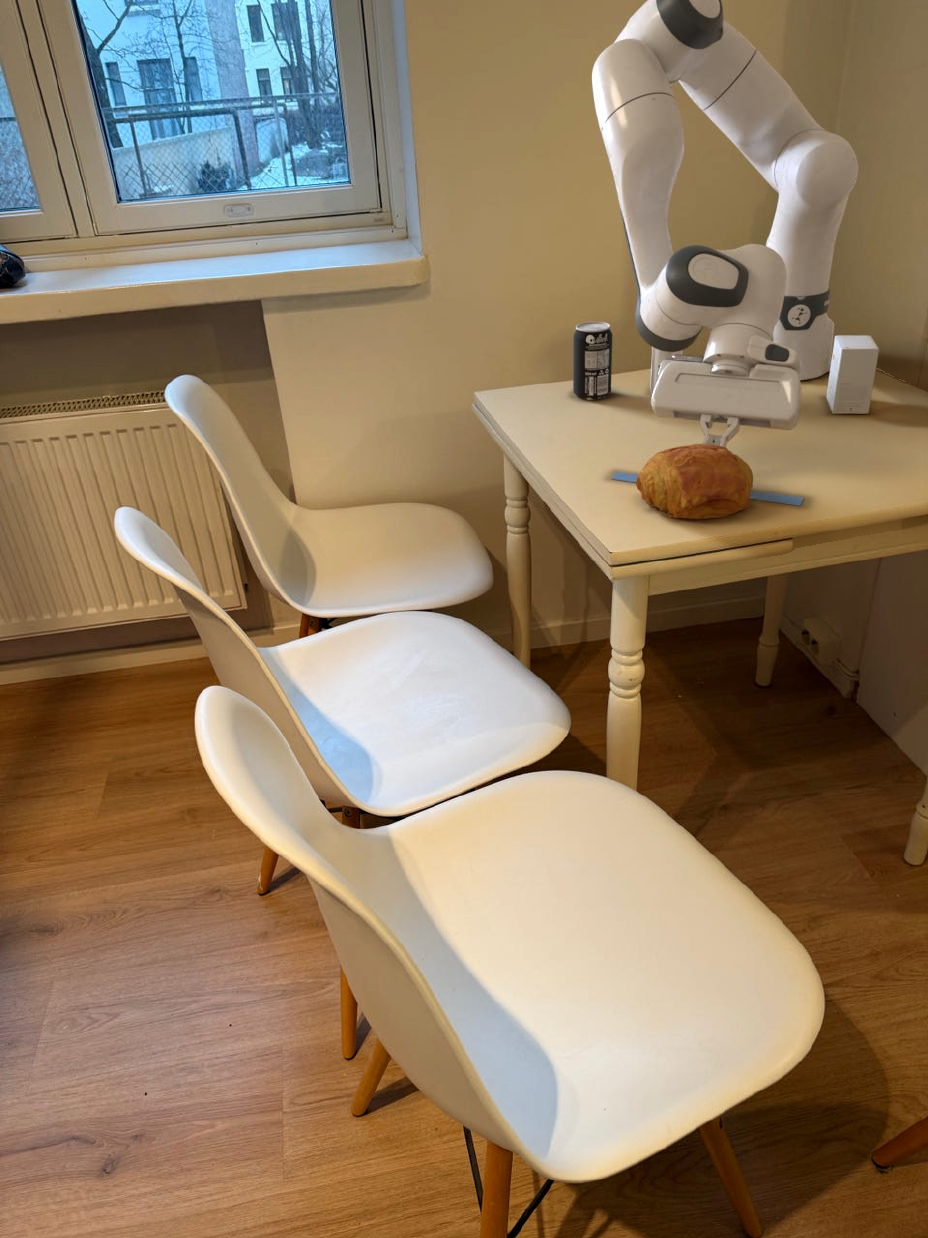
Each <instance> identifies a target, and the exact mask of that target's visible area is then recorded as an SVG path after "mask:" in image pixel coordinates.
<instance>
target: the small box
mask: <svg viewBox="0 0 928 1238" xmlns="http://www.w3.org/2000/svg"><path fill="white" fill-rule="evenodd" d="M879 353H880V348H879V347H878V345H877V343H876V342H875V340H874V338H873V337H872V335H867V334H866V335H865V334H863V335H851V334H849V335H846V334H845V335H834V339H833V346H832V354H831V358H832V361H831V368H830V371H829V375H828V381H827V382H828V383H827V389H826V396H825V398H826V400H827V403H828V405H829V408H830V410H831V413H832V414H834V415H835V414H846V415H847V414H855V415H856V414H857V415H859V414H861V415H864V414H865V415H867V414H869V413H870V406H871V401H872V396H873V395H872V394H873V389H874V382H875V377H876V371H877V364H878V360H879V359H878V358H879Z"/></svg>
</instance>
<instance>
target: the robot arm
mask: <svg viewBox="0 0 928 1238" xmlns="http://www.w3.org/2000/svg"><path fill="white" fill-rule="evenodd" d="M677 83H679V84H680V85H681V87H682V88H683V90H684V92H686V94H687V95H688V96H689V97H690V99H691V100H692V101H693V102H694V104H695V105H696V106H697V107H698V108H699V109H700V110H701V111H702V112H703V113H704V114H705V115H706V116H707V117H708V118H709V120H710V121H711V122H712V123H713V124H714V125H715V126H716V127H717V128H718V129H719V130H720V131H721V132H722V133H723V134H724V135H725V136H726V137H727V139H728V140H729V141H731V143H732V144H733V145H734V146H735V147H736V148H737V149H738V151H740V153H741V154H742V155H743V156H744V158H746V159H747V161H748V162H749V163H750V164H751V166H753V167H754V169H755V170H756V171H757V172H758V173H759V174H760V175H761V176H762V177H763V178H764V180H765V181H766V182H767V183H768V184H769V185H770V186H771V188H773V190H774V191H775V192H776V193H778V199H777V206H776V210H775V215H774V219H773V221H772V222H773V223H772V226H771V229H770V233H769V235H768V237H767V240H766V243H765V245H763V244H759V243H749V244H744V245H742V246H739V247H737V248H733V249H715V248H712V247H710V246H706V245H701V244H691V245H688V246H687V245H686V246H684V247H682V248H680V249H678V250H677V251H675V252H674V250H673V245H672V241H671V236H670V232H669V224H668V223H669V222H668V221H669V217H668V216H669V207H670V202H671V197H672V193H673V189H674V187H675V183H676V180H677V177H678V174H679V171H680V168H681V165H682V162H683V159H684V154H685V148H686V147H685V132H684V124H683V119H682V116H681V111H680V109H679V105H678V103H677V100H676V97H675V95H674V91H673V87H674V86H675V85H676V84H677ZM591 86H592V95H593V103H594V109H595V114H596V118H597V122H598V126H599V131H600V133H601V136H602V140H603V143H604V148H605V150H606V154H607V157H608V161H609V165H610V169H611V173H612V175H613V180H614V184H615V190H616V194H617V200H618V203H619V210H620V215H621V220H622V221H621V222H622V226H623V232H624V237H625V240H626V245H627V250H628V254H629V259H630V263H631V267H632V271H633V276H634V280H635V285H636V293H637V294H636V295H637V297H636V298H637V299H636V306H635V312H634V313H635V315H634V321H635V327H636V330H637V332H638V334H639V335H640V338H642V340H643V341H644V342H645V343H646V344H647V345H649V346H650V347H651V348H652V347H654V348H656V349H658V350H661V351H665V352H677V351H681V350H683V351H685V349H688V348H689V347H691V346H692V345H693V344H694V343H695V342H696V340H697V338H698V337H699V335H700V334H701V332H702V330H703V329H704V327H706V328H708V329H709V331H710V332H709V335H708V340H707V344H706V347H705V350H704V354H703V355H693V354H692V355H691V354H690V355H688V354H687V355H685V354H683V355H682V354H674V355H673V357H669V358H666V359H665V360H663V361H662V363H661V366H660V369H659V373H658V377H659V379H658V381H657V384H656V386H655V389H654V392H653V394H652V395H651V397H650V405H651V408H652V410H653V412H654V414H655V415H656V416H657V417H659V418H665V419H677V420H684V421H685V420H686V421H695V422H696V421H697V422H699V424H700V427H701V431H702V433H703V439H702V443H701V444H713V445H718V446H721V447H726V448H727V445H728V443H729V442H730V441H731V440H732V439H733V438H734V437H735V436H736V435H738V433H739V431H740V427H741V426H742V427H751V428H761V429H772V430H781V431H792V430H793V429H794V428H796V427H797V426H798V425H799V421H800V418H801V410H802V385H801V381H805V380H812V379H816V378H818V377H821V376H824V375H825V374H826V373H828V372H830V368H831V361H832V354H833V345H834V331H835V322H834V321H833V319H831V318H830V317H829V316H828V314H827V312H828V311H829V305H830V303H831V289H830V288H829V284H830V278H831V272H832V265H833V258H834V253H835V252H834V251H835V245H836V241H837V237H838V233H839V230H840V226H841V223H842V220H843V218H844V214H845V210H846V208H847V204H848V201H849V197H850V194H851V192H852V191H853V189H854V187H855V186H856V183H857V180H858V176H859V161H858V157H857V154H856V152H855V151H854V149H853V147H852V144H850V142H849V141H848V140H847V139H845V138H844V137H842V135H839V134H836V133H834V132H831V131H828V130H827V129H825V128H823V126H821V125H820V124H819V123H818V122H817V121H816V119H814V117H813V116H812V115H811V114H810V112H809V110H807V108H806V107H805V106H804V104H803V103H802V102H801V100H800V99H799V98H798V97H797V94H796V93H795V91H794V90H793V89H792V87H791V85H790V84H789V83H788V82H787V81H786V80H785V79H784V78H783V77H782V76H781V74H780V73H779V72H778V71H777V70H776V69H775V67H773V65H771V63H770V62H769V61H768V60H767V59H766V57H764V55H762V54H761V52H760V51H759V50H758V49H757V48H756V47H755V46H754V45H753V44H752V42H750V41H749V39H748V38H747V37H745V36H744V34H742V33H741V32H740V31H739V30H738V29H736V28H735V27H734V26H733V25H732V24H730V22H728V21H726V20H725V18H724V7H723V2H722V0H646V1H645V2H644V3H643V4H642V5H641V6H640V7H639V8H637V10H636V11H635V12H634V14H633V15H632V16H631V17H630V18H629V20H628V21H627V23H626V25H625V26H624V28H623V29H622V30H621V32H620V33H619V34H618V36H617V38H615V40H614V42H613V43H612V44H610V45H609V46H607V47H606V48H605V49H604V50H603V51H602V52H601V53H600V54H599V56H598V57H597V58H596V60H595V61H594V65H593V67H592V72H591ZM715 423H716V424H725V425H727V429H726V430H725V431H724V432H723V433H722V434H721V435H717V434H716V435H715V434H710V432H709V429H712V428H713V426H714V425H713V424H715Z"/></svg>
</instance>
